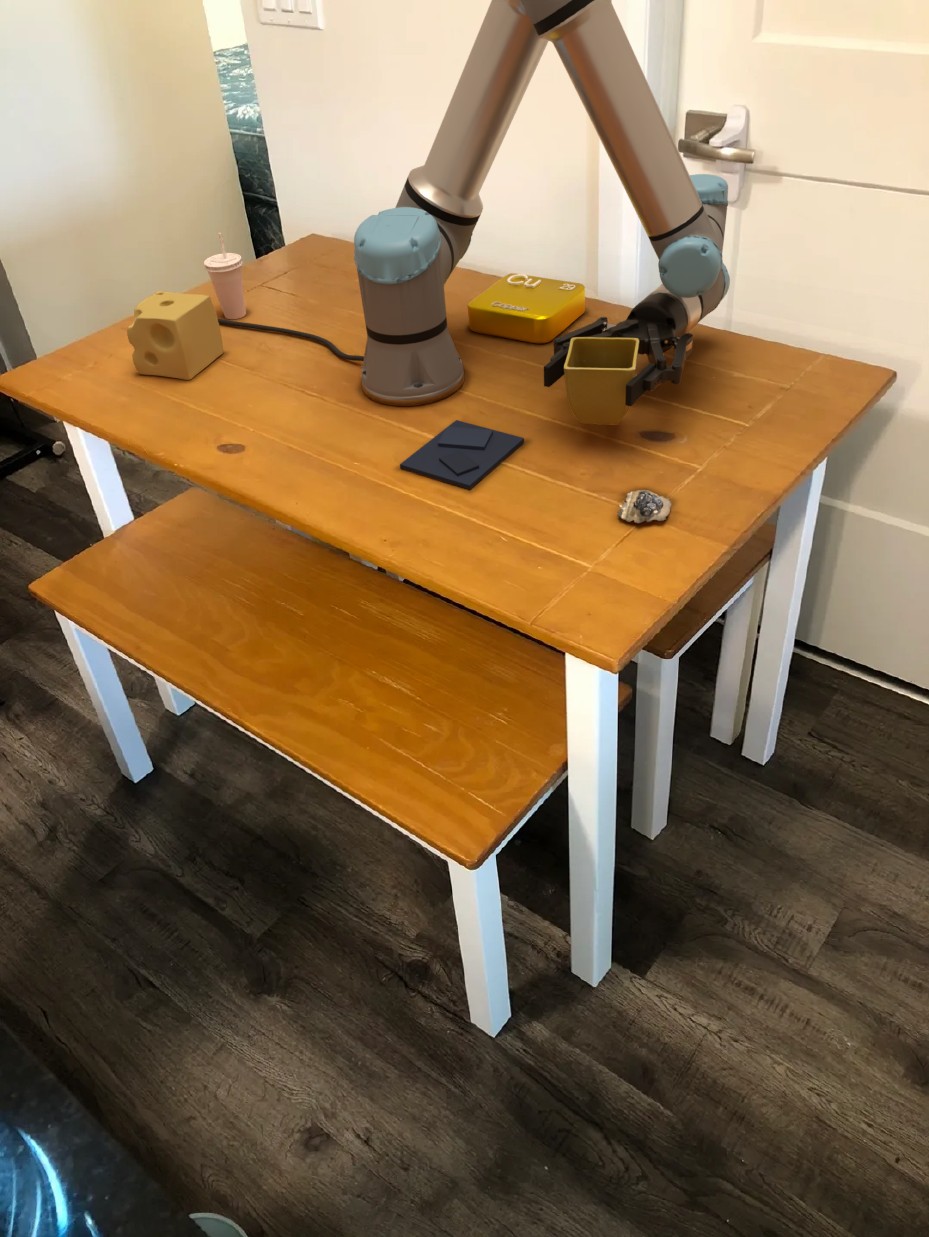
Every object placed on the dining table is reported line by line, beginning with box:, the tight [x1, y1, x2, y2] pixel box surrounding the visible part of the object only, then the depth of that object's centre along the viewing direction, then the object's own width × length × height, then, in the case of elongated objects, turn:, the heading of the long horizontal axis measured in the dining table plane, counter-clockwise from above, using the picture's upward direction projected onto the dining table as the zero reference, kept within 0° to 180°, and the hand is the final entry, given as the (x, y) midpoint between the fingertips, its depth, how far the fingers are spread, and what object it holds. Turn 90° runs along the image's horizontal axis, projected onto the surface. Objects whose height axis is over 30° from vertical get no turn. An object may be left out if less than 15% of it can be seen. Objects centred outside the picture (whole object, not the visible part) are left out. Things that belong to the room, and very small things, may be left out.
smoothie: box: [203, 232, 247, 320], centre depth 167 cm, size 6×6×14 cm
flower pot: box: [564, 337, 639, 426], centre depth 126 cm, size 9×9×9 cm
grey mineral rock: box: [616, 489, 672, 524], centre depth 116 cm, size 7×8×2 cm
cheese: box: [126, 290, 224, 381], centre depth 155 cm, size 10×11×10 cm
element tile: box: [467, 272, 586, 345], centre depth 159 cm, size 15×15×5 cm
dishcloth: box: [399, 419, 525, 490], centre depth 129 cm, size 11×13×1 cm
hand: (586, 386), depth 123 cm, fingers closed on flower pot, 11 cm apart
